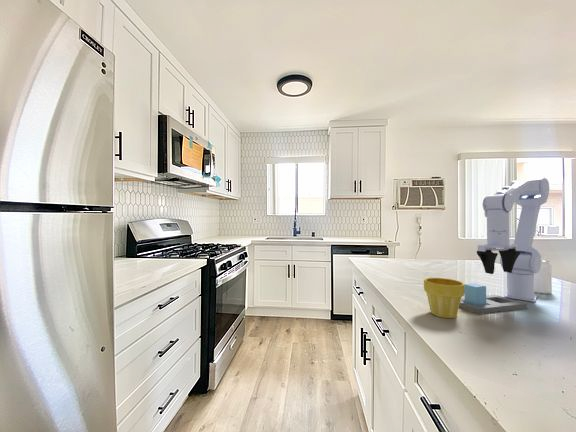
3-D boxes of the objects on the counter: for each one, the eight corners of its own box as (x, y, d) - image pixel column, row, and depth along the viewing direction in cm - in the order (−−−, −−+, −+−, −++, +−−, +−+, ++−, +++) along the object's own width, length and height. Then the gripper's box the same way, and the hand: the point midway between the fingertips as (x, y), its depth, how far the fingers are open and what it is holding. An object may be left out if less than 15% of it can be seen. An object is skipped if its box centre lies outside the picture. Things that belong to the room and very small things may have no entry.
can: (556, 294, 96) (555, 261, 96) (534, 293, 98) (534, 261, 98) (544, 290, 102) (543, 259, 102) (524, 289, 104) (523, 258, 104)
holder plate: (450, 303, 87) (449, 299, 87) (494, 299, 91) (494, 294, 91) (478, 314, 77) (478, 308, 77) (527, 308, 82) (526, 303, 82)
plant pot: (467, 313, 78) (467, 280, 78) (461, 324, 70) (461, 287, 70) (429, 306, 84) (428, 275, 85) (419, 314, 77) (419, 281, 77)
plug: (464, 305, 85) (464, 284, 85) (474, 304, 85) (474, 283, 86) (476, 310, 81) (475, 287, 81) (486, 308, 82) (486, 286, 82)
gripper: (492, 232, 80) (493, 276, 80) (528, 231, 83) (529, 274, 83) (471, 231, 87) (472, 272, 87) (505, 230, 90) (505, 269, 90)
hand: (498, 272), depth 85 cm, fingers open, 7 cm apart
